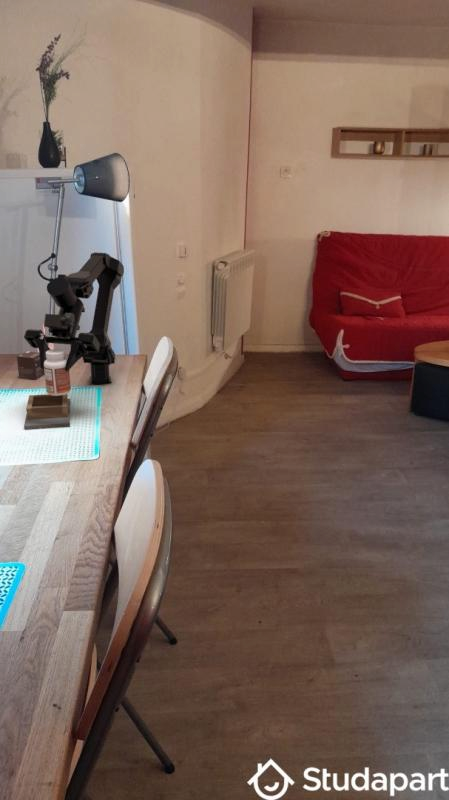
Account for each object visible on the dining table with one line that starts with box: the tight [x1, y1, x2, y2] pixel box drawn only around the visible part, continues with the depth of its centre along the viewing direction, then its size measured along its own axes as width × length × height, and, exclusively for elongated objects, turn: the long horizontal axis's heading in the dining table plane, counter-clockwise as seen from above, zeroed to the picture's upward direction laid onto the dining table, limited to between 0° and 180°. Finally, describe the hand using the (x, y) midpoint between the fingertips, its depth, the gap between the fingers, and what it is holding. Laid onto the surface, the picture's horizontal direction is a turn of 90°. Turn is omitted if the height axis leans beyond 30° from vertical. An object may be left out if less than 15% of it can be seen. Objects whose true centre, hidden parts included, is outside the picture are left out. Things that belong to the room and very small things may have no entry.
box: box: [16, 351, 45, 381], centre depth 178 cm, size 6×6×7 cm
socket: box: [23, 393, 71, 431], centre depth 149 cm, size 18×11×4 cm, turn 14°
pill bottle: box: [44, 348, 72, 396], centre depth 145 cm, size 6×6×11 cm
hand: (54, 369), depth 143 cm, fingers closed on pill bottle, 6 cm apart
